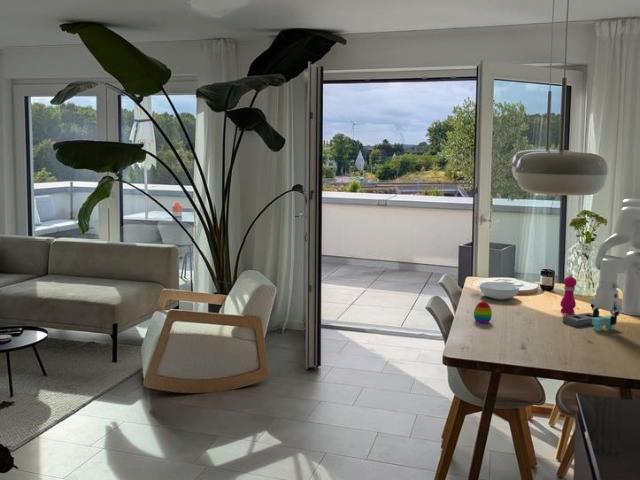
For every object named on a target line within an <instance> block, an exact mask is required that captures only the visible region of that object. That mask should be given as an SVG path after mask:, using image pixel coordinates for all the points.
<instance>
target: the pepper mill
mask: <svg viewBox="0 0 640 480" xmlns="http://www.w3.org/2000/svg"><path fill="white" fill-rule="evenodd" d="M563 284H564V286H563V290H564V295H563V297H562V299H561V301H560V304H559V305H560V306H561V309H560V313H561V314H564V315H575V308H576V305H577V303H576V299H575V297H574V291H575V290H576V289H575V288H576V287H575V286H576V285H577V280H576V278H575V277H573V274H572V273H569V274H568V276H567V277H565V278H564V279H563Z"/></svg>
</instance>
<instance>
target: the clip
mask: <svg viewBox="0 0 640 480" xmlns="http://www.w3.org/2000/svg"><path fill="white" fill-rule="evenodd" d="M611 316H612V315H603V317H596V318H592V325H593V329H592V330H593V331H595V332H602V330H603V329H602V328H603V326H605V329H608V330H614V328H615V325H610V319H611ZM617 320H618V319H617ZM617 320H616V324H617V322H618V321H617Z"/></svg>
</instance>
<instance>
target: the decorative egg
mask: <svg viewBox="0 0 640 480" xmlns="http://www.w3.org/2000/svg"><path fill="white" fill-rule="evenodd" d="M492 315H493V313H492V308H491V306H490V304H489V303H488V302H486V301H484V300H482V301H480V302H478V303H477V304H476V306H475V308H474V311H473V317H474V320H475V322H476V323H478V322H479V323H478V324H483V323H485V324H489V322H490V321H491V319H492Z"/></svg>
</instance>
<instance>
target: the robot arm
mask: <svg viewBox="0 0 640 480" xmlns="http://www.w3.org/2000/svg"><path fill="white" fill-rule="evenodd" d="M616 220H617V221H616V224H615V227H614V231H613V234H612V235H611V236H610V237H608V238H606V239H605V240H604V241H603V242H602V243H601V244H600V246H599V247H598V250H597V253H596V257H595V261H594V266H595V268H596V270H598V271H599V278H598V286H597V288H596V291H595V295H594V298H591V299H589V304H590V307H591V310H592V313H593V318H596V317H599V316H600V310H603V311H606V312H610V314H611V319H610V325H614V326H615V325H616V324H617V323H616V320H618V317H619V315H621V314H624V315H629V316H639V317H640V198H625V199H623V200H622V202H621V209H620V210H619V213H618V217H617V219H616ZM627 243H628V245H629V247H630V248H631V249H635V250H630V251H627V252H626V254H625V255H624V257H623V256H615V255H608V254H607V252H608V251H609V250H610V249H611V248H613V247H616V246H620V245H623V244H627ZM619 274H624V278H623V279H624V280H623V288H622V289H623V291H622V299H621V300H622V301H621V306H620V304H619V302H620V299H619V297H620V296H619V290H618V288H619V285H618V276H619Z"/></svg>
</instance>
